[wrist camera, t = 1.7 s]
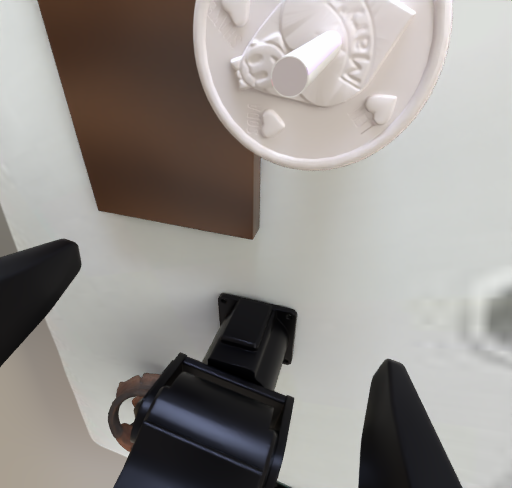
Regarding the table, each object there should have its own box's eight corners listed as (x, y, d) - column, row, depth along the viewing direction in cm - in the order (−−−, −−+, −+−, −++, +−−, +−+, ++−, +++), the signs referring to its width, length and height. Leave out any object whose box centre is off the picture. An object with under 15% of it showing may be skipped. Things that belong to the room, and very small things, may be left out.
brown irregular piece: (122, 376, 44) (81, 414, 36) (178, 333, 42) (148, 363, 34) (181, 452, 44) (153, 508, 35) (239, 412, 42) (224, 461, 34)
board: (259, 228, 24) (252, 240, 23) (110, 201, 27) (98, 211, 26) (268, -245, 12) (256, -270, 11) (4, -203, 15) (-28, -219, 14)
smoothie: (429, 77, 16) (506, 244, 5) (298, 113, 19) (173, 272, 8) (416, -101, 13) (526, -535, 2) (262, -28, 16) (-14, -75, 5)
